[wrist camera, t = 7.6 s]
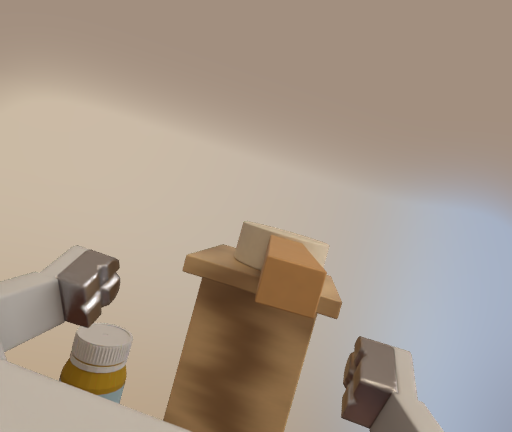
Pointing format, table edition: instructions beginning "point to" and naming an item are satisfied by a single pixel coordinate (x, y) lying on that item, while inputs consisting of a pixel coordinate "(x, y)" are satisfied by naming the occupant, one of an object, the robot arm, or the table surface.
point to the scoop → (284, 267)
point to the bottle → (99, 360)
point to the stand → (239, 350)
